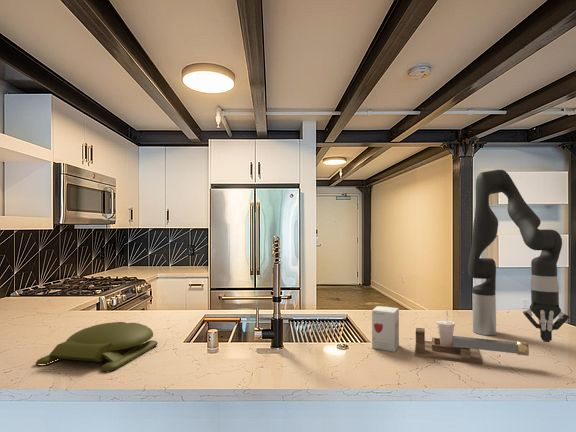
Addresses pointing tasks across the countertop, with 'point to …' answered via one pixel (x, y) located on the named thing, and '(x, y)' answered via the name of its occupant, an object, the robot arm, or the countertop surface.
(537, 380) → the countertop surface
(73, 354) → the spaceship
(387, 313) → the supplement box
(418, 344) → the holder
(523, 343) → the bar
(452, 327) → the smoothie
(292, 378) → the countertop surface
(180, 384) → the countertop surface
